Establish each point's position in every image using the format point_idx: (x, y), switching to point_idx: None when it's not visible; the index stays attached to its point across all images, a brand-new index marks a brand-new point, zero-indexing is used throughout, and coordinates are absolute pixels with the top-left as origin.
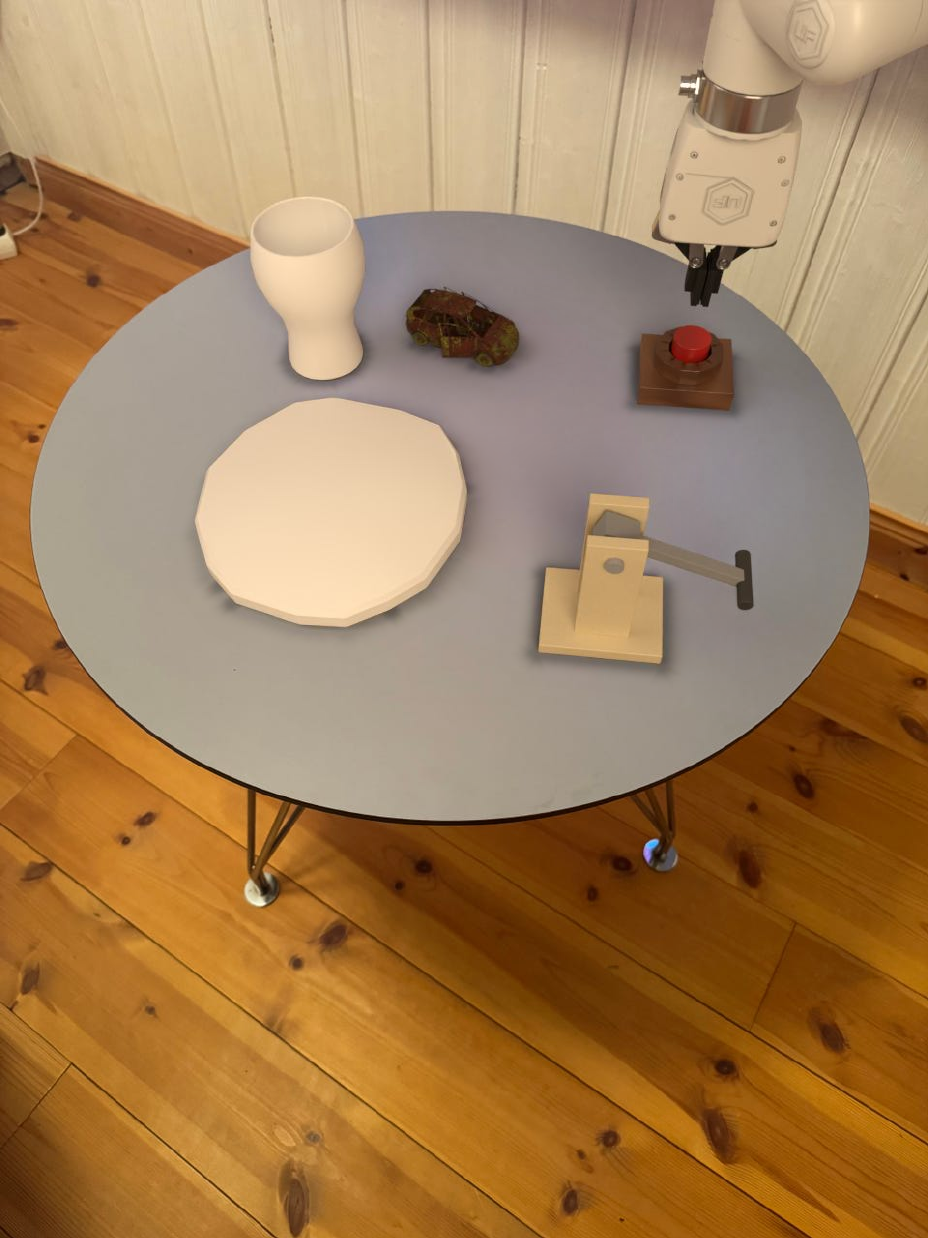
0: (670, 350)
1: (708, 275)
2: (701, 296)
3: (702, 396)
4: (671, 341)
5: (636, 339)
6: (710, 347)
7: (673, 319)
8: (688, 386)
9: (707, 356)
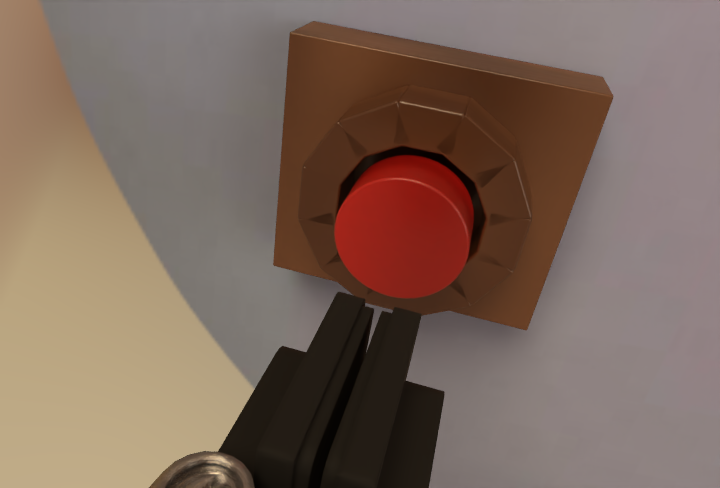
0: None
1: (317, 436)
2: (363, 347)
3: (393, 46)
4: None
5: (521, 332)
6: None
7: None
8: (436, 83)
9: None
